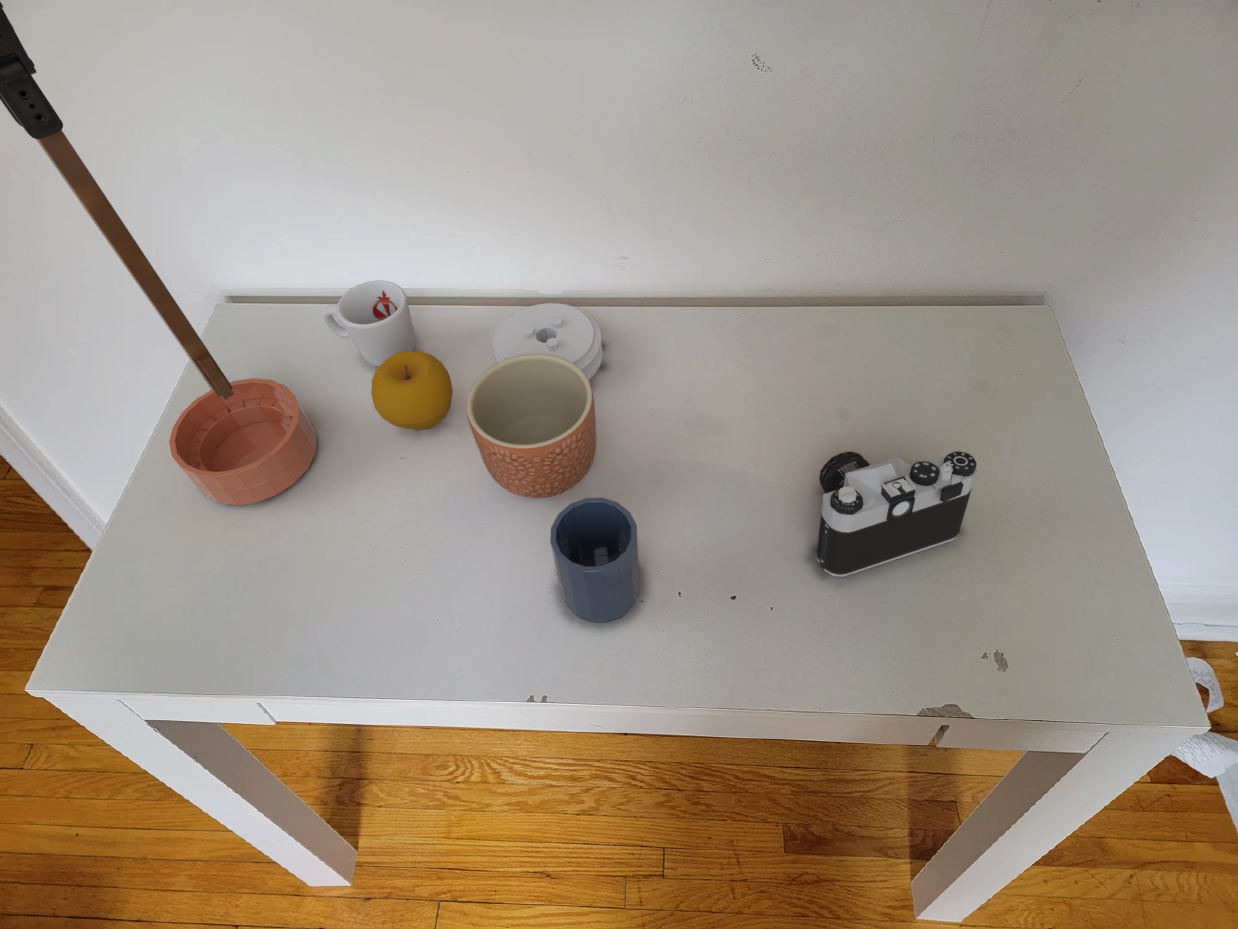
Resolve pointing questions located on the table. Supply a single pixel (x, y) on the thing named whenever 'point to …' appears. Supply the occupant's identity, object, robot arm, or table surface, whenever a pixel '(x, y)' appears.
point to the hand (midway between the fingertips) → (42, 126)
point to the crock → (596, 559)
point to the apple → (412, 390)
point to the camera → (889, 508)
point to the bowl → (244, 442)
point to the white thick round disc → (551, 335)
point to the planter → (534, 424)
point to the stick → (132, 257)
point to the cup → (374, 320)
